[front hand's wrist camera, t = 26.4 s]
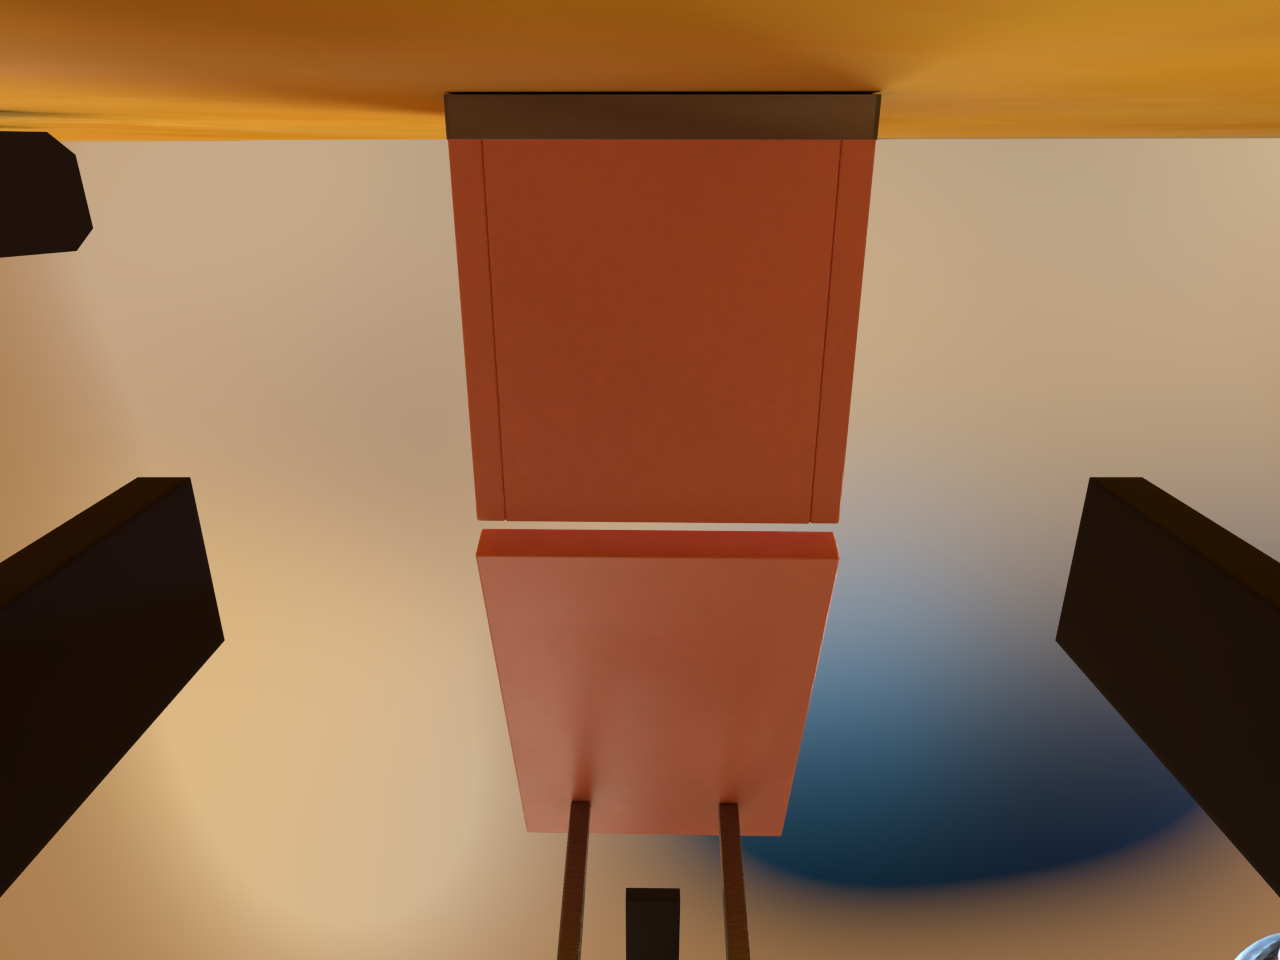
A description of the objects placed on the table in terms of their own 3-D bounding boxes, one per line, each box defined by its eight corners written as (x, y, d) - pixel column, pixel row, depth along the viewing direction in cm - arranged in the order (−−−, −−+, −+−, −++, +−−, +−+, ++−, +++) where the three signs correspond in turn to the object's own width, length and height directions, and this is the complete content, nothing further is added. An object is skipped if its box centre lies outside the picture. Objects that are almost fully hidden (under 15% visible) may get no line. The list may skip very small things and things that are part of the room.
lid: (778, 810, 32) (812, 1093, 25) (530, 806, 32) (494, 1086, 25) (834, 531, 23) (913, 860, 16) (481, 527, 23) (402, 852, 16)
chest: (787, 123, 31) (771, 389, 35) (532, 123, 32) (543, 388, 35) (881, 94, 18) (839, 524, 22) (443, 94, 18) (476, 521, 22)
